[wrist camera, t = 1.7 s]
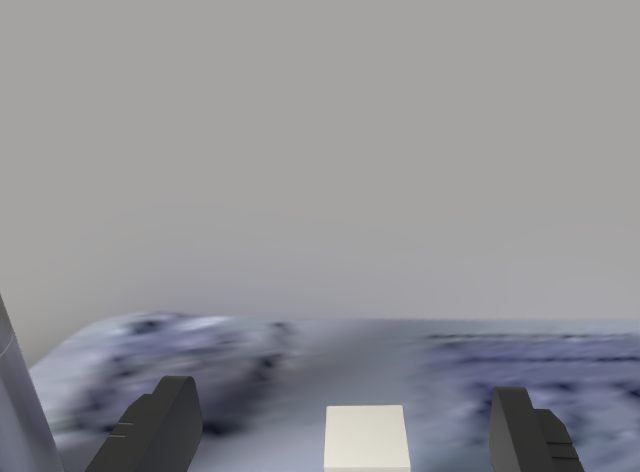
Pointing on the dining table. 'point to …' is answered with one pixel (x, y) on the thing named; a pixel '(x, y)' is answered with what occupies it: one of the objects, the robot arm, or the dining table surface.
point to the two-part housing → (366, 439)
